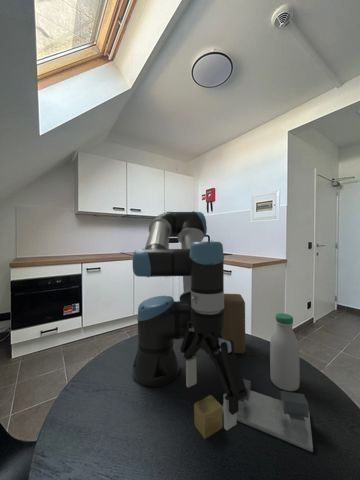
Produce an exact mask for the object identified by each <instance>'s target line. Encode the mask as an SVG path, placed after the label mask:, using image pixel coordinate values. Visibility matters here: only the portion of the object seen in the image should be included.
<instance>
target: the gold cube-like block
mask: <svg viewBox="0 0 360 480" xmlns="http://www.w3.org/2000/svg"><path fill="white" fill-rule="evenodd" d="M222 405H223V404H221V403H220V402H219V401H218V400H217V399H216V398H215V397H214V396H213V395H212V394H209V395H208V396H205V397H204V398H202V399H201V400H198V401H196V402H195V403H194V404H193V407H194V408H193V414H194V415H193V419H194V420H193V421H194V423H193V424H194V426H195V428H196V429H197V430H198V432H199V433H200V435H201V436H202V438H203V439H204V440H206V439H207V438H210V437H211V436H213V435H214V434H216V433H217V432H219V431H220V430H221V429H223V414H222Z"/></svg>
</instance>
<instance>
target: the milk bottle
mask: <svg viewBox="0 0 360 480" xmlns="http://www.w3.org/2000/svg"><path fill="white" fill-rule="evenodd" d="M275 324H276V325H275V328H274V330H273V332H272V334H271V337H270V342H269V343H270V345H269V349H270V350H269V351H270V352H269V363H270V365H269V367H270V368H269V370H270V371H269V372H270V378H269V379H270V380H271V383H273V385H274V386H276V387H277V388H278V389H281V390H282V391H285V392H295V391H297V390H298V389H299V387H300V347H299V346H300V345H299V342H298V338H297V336H296V334H295V332H294V329H293V325H294V318H293V316H292V315H291V314H288V313H282V312H281V313H280V312H279V313H276V314H275Z"/></svg>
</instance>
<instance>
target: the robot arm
mask: <svg viewBox="0 0 360 480" xmlns="http://www.w3.org/2000/svg"><path fill="white" fill-rule="evenodd" d="M207 230H208V229H207V220H206V216H205V214H204V213H203V212H201V211H195V210H193V211H167V212H163V213H160V214H158V215H157V216H155V217H154V218H153V219H152V220H151V222H150V223H149V225H148V233H149V234H148V237H147V239H146V240H147V241H146V243H145V247H144V248H141V249H135V250H134V252H133V255H132V271H133V275H135V276H136V277H139V278H140V277H145V278H151V277H152V278H153V277H154V278H155V277H156V278H157V277H161V278H162V277H182V283H183V286H182V287H183V292H182V293H181V294H180V295H179V301H178V300H177V301H175V299H174V298H173V296H171V295H158V296H157V295H156V296H152V297H149V298H147V299H145V300H143V301H142V302H141V303H140V304H139V305H138V309H137V316H136V320H137V340H138V341H137V345H138V346H137V350H136V354H135V358H134V360H133V364H132V376H133V377H132V378H133V379H134V380H135V381H136V382H137V383H139V384H140V385H143V386H146V387H153V388H154V387H161V386H164V385H168V384H170V383H171V382H173V381H174V380H175V379H177V377H178V375H179V373H180V360H179V357H178V354H177V350H176V348H175V340H182V343H181V346H180V353H181V354H183V357H184V359H185V381H186V382H185V383H186V384H185V385H186V387H187V388H191V387H192V386H195V385H197V383H198V382H197V378H198V377H197V376H198V375H197V357H195V356H196V355H197V353H198V351H200V349H201V350H202V351H204V352H205V353H206V354H207V355H208V356H209V359H210V360H211V361H212V362H213V363H214V366H215V368H216V370H217V373H218V375H219V376H218V377H219V378H220V381H221V383H222V386H223V388H224V391H225V393H224V394H223V403H224V415H223V428H224V430H226V431H229V430H230V429H231V428H232V427H235V426H236V425H238V424H237V423H238V421H237V417H236V413H237V412H238V410H239V408H238V401H239V400H241V399H243V398H244V397H246V396H247V391H246V388H245V384H244V381H243V379H244V378H243V375H242V372H241V370H240V368H241V367H240V365H239V363H238V359H237V356H236V353H235V352H234V343H233V341H232V340H228V341H226V340H224V339H223V338H222V334H221V332H222V329H223V327H224V311H223V310H222V309H224V294H225V293H224V292H225V289H224V285H225V284H224V282H225V281H224V280H225V278H224V272H225V271H224V263H225V262H224V260H225V255H224V246H223V243H222V242H221V241H203V240H204V237H206V235H207V232H208V231H207ZM170 238H177V241H178V242H179V243H180V246H181V248H170V244H169V243H170ZM218 349H219V350H218ZM217 352H218V353H217ZM215 353H216V354H215ZM230 388H231V389H230Z"/></svg>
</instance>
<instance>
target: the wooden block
mask: <svg viewBox="0 0 360 480" xmlns="http://www.w3.org/2000/svg"><path fill="white" fill-rule="evenodd" d="M222 310H223V311H224V327H223V329H222V332H221V334H222V338H223V339H224V340H226V341H228V340H232V341H233V343H234V352H235V354H245V353H246V302H245V300H244V298H243V295H242V294H241V293H224V309H222ZM218 351H219V349H218Z"/></svg>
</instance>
